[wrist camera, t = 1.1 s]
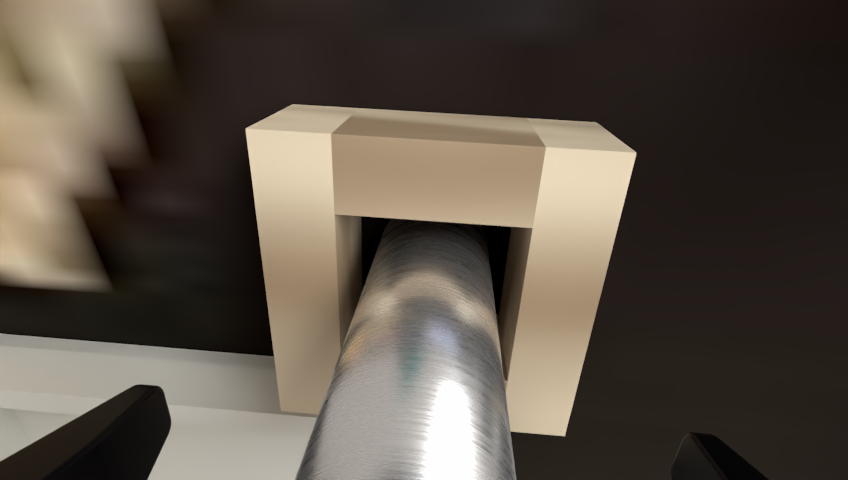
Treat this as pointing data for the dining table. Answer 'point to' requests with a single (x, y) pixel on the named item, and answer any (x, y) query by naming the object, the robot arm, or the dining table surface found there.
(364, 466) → the pin
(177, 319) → the dining table surface
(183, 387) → the tray
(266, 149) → the square wooden frame
